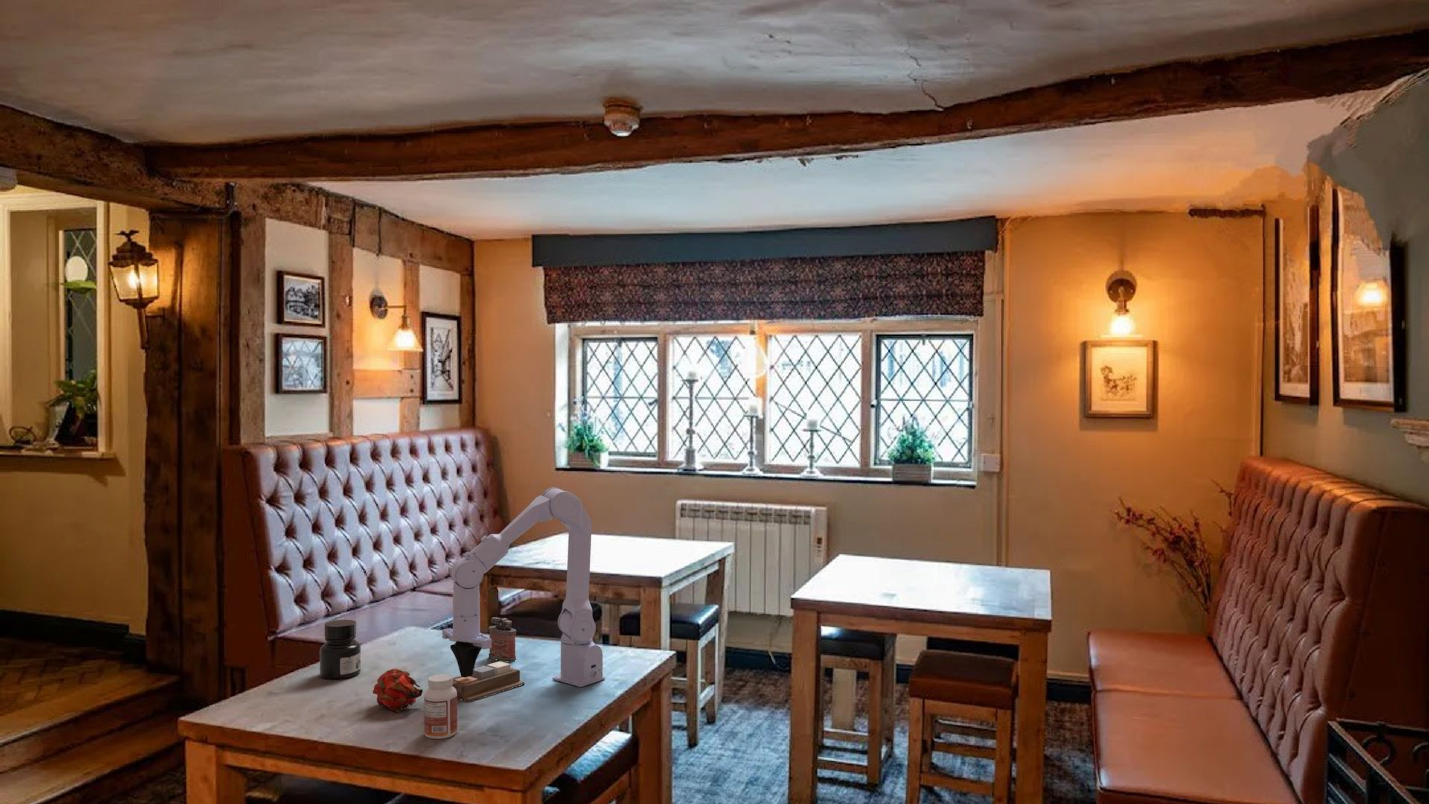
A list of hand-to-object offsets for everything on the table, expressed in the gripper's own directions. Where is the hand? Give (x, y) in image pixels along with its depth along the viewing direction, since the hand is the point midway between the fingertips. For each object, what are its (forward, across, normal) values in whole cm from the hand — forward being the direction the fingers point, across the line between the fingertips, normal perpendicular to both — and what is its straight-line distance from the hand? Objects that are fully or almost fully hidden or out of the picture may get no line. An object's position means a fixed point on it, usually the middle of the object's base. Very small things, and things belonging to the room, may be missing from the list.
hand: (466, 676), depth 214 cm
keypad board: (+4, 0, +4) cm, 6 cm away
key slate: (+2, 0, +4) cm, 5 cm away
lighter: (+4, -15, +22) cm, 27 cm away
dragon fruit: (+4, -4, -15) cm, 16 cm away
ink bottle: (+4, -34, -10) cm, 36 cm away
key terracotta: (+3, 0, 0) cm, 3 cm away
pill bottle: (+4, +16, -19) cm, 25 cm away
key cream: (+2, 0, +9) cm, 9 cm away
